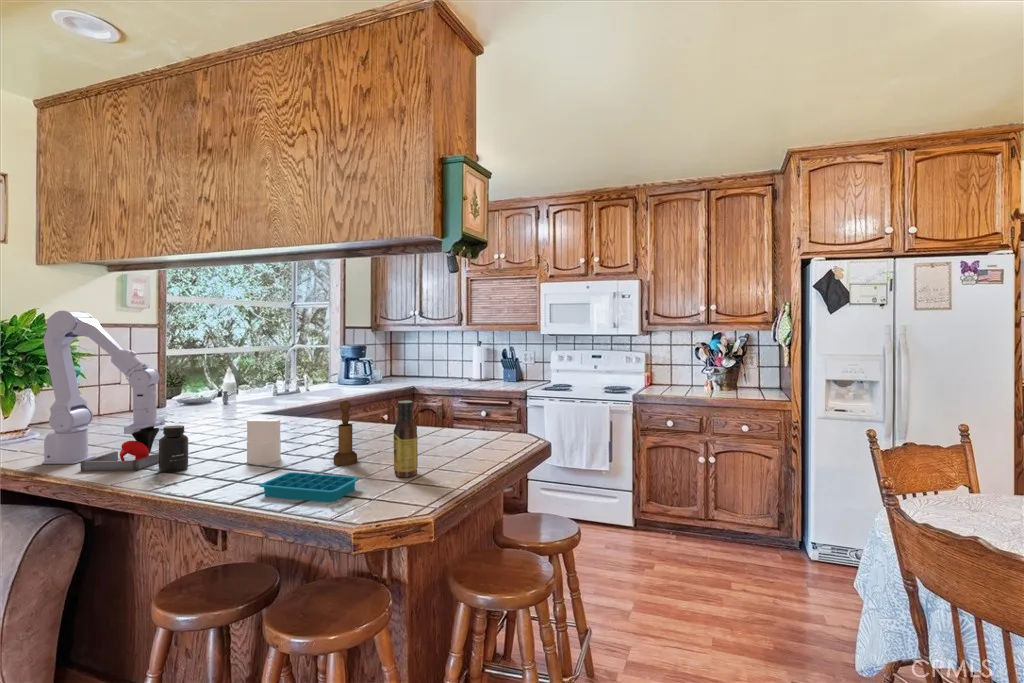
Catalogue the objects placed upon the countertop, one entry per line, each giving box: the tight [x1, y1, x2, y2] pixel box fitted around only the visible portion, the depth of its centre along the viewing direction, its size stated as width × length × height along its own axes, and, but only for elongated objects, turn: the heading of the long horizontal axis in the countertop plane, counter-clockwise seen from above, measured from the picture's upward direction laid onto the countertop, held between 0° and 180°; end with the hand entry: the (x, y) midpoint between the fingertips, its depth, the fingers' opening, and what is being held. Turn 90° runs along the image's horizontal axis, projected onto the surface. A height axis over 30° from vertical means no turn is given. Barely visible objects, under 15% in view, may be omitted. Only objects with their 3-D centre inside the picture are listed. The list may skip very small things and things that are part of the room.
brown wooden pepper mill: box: [333, 400, 358, 466], centre depth 146 cm, size 7×6×18 cm
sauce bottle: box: [393, 400, 419, 478], centre depth 133 cm, size 6×6×20 cm
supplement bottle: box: [158, 424, 189, 474], centre depth 138 cm, size 7×7×12 cm
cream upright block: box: [246, 418, 282, 465], centre depth 148 cm, size 9×9×12 cm
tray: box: [80, 450, 159, 472], centre depth 143 cm, size 15×12×2 cm
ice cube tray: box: [259, 471, 360, 503], centre depth 119 cm, size 12×20×3 cm, turn 77°
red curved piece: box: [119, 440, 150, 461], centre depth 147 cm, size 8×6×6 cm
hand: (145, 453), depth 151 cm, fingers closed
